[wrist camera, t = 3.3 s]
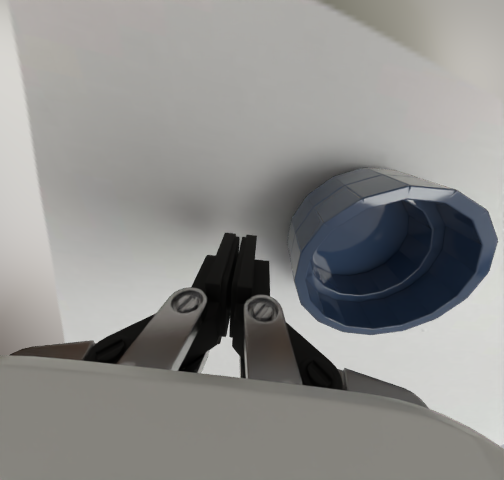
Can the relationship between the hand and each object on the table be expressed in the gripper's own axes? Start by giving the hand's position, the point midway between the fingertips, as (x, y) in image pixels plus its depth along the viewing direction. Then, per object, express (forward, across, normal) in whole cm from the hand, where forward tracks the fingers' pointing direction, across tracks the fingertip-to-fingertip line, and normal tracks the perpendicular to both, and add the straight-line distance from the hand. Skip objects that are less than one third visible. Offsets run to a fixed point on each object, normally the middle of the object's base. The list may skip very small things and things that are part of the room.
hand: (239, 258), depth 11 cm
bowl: (+4, -8, 0) cm, 9 cm away
